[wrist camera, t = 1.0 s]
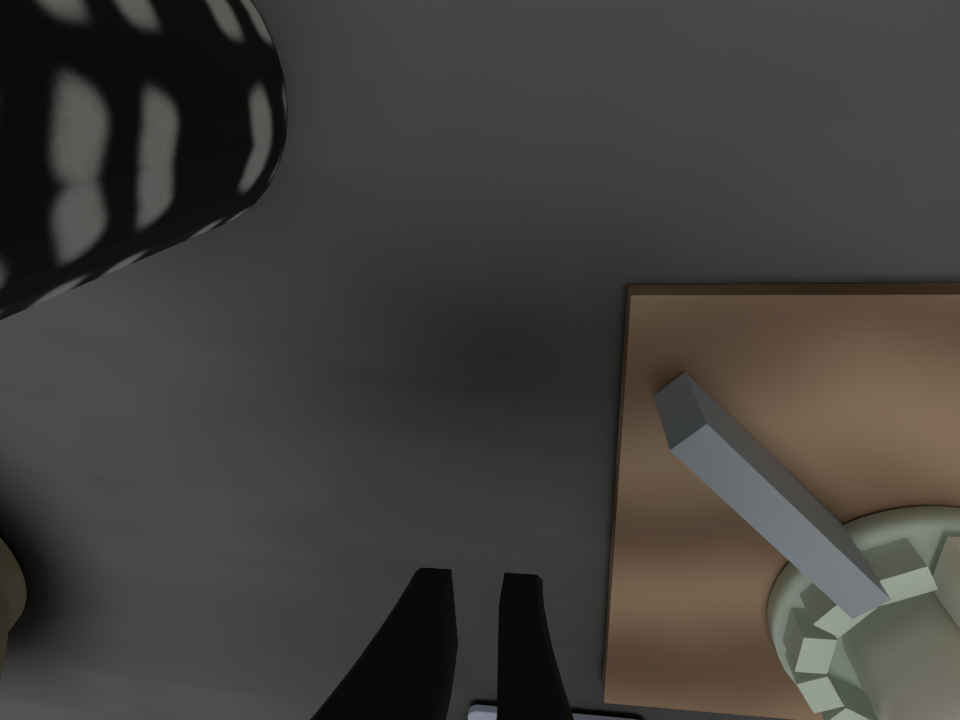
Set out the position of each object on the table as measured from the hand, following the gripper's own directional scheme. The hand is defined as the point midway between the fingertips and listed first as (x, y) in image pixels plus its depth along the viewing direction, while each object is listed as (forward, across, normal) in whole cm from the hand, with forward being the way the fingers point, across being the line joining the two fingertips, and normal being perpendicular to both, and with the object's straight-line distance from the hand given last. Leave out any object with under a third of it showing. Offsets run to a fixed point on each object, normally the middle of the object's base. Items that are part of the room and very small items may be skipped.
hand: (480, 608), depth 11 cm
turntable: (+8, -11, +6) cm, 15 cm away
